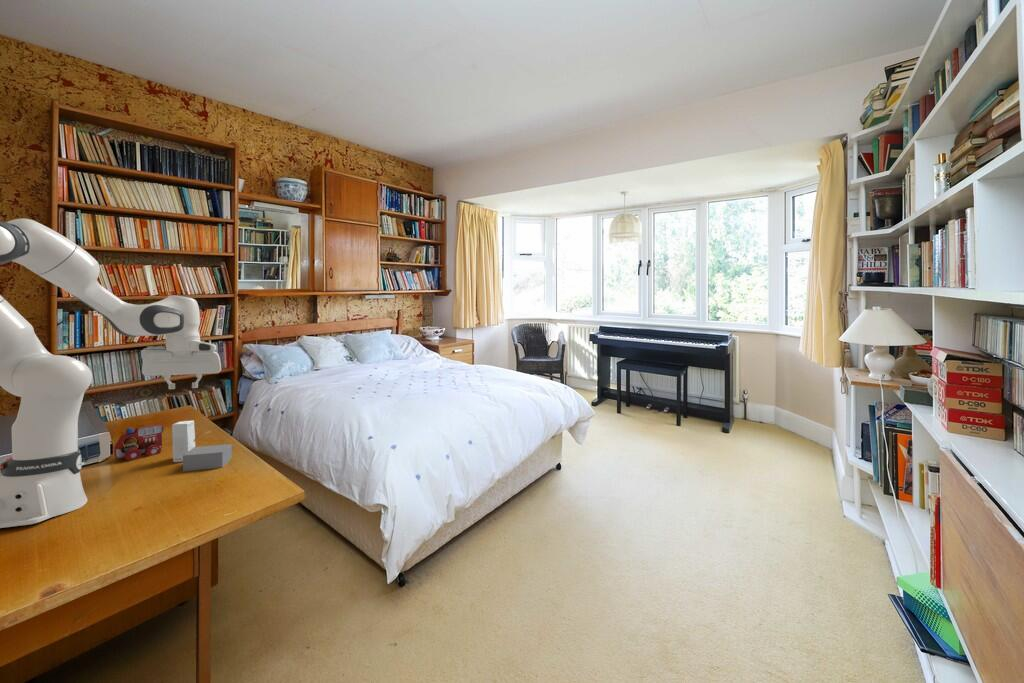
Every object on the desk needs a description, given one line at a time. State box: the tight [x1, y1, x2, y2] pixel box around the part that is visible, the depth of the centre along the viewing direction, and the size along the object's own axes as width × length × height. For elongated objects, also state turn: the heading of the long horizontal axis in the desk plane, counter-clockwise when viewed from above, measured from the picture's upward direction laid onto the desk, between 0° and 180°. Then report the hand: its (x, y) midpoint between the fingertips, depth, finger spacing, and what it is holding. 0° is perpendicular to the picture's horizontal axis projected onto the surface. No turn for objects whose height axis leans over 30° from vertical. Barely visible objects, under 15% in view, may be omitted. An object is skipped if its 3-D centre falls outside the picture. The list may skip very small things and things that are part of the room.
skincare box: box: [171, 420, 196, 463], centre depth 137 cm, size 6×4×12 cm
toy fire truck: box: [113, 423, 164, 462], centre depth 139 cm, size 7×12×10 cm, turn 146°
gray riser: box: [182, 443, 233, 472], centre depth 132 cm, size 10×10×5 cm
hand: (183, 388), depth 137 cm, fingers open, 5 cm apart
